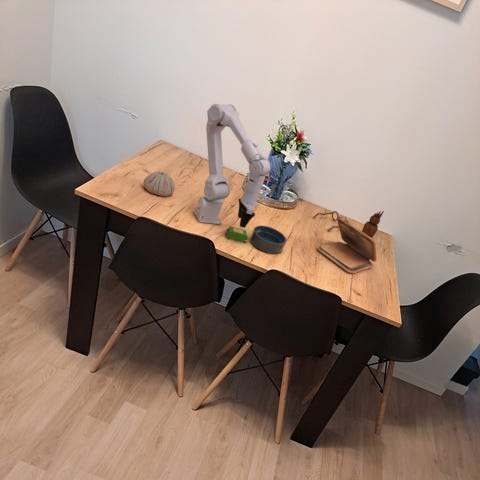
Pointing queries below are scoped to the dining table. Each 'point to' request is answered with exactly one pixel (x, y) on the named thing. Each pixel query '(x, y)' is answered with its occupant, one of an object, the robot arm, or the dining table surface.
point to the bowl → (268, 239)
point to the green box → (236, 234)
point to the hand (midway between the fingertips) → (241, 222)
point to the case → (351, 249)
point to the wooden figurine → (372, 225)
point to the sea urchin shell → (159, 183)
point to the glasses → (332, 218)
